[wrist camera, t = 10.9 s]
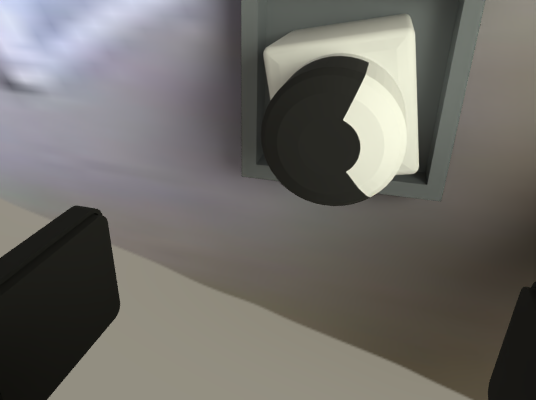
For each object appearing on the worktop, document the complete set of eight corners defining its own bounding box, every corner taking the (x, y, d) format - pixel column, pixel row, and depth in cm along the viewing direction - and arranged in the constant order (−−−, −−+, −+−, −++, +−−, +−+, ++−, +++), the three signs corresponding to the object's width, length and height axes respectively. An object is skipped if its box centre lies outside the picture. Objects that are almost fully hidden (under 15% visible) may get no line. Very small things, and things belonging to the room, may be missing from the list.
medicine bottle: (304, 140, 31) (259, 227, 21) (289, 30, 28) (228, 67, 18) (414, 131, 29) (424, 222, 19) (410, 12, 26) (420, 42, 16)
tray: (482, -32, 26) (492, -31, 23) (437, 181, 31) (441, 201, 29) (255, -38, 28) (241, -38, 26) (253, 160, 34) (241, 176, 32)
